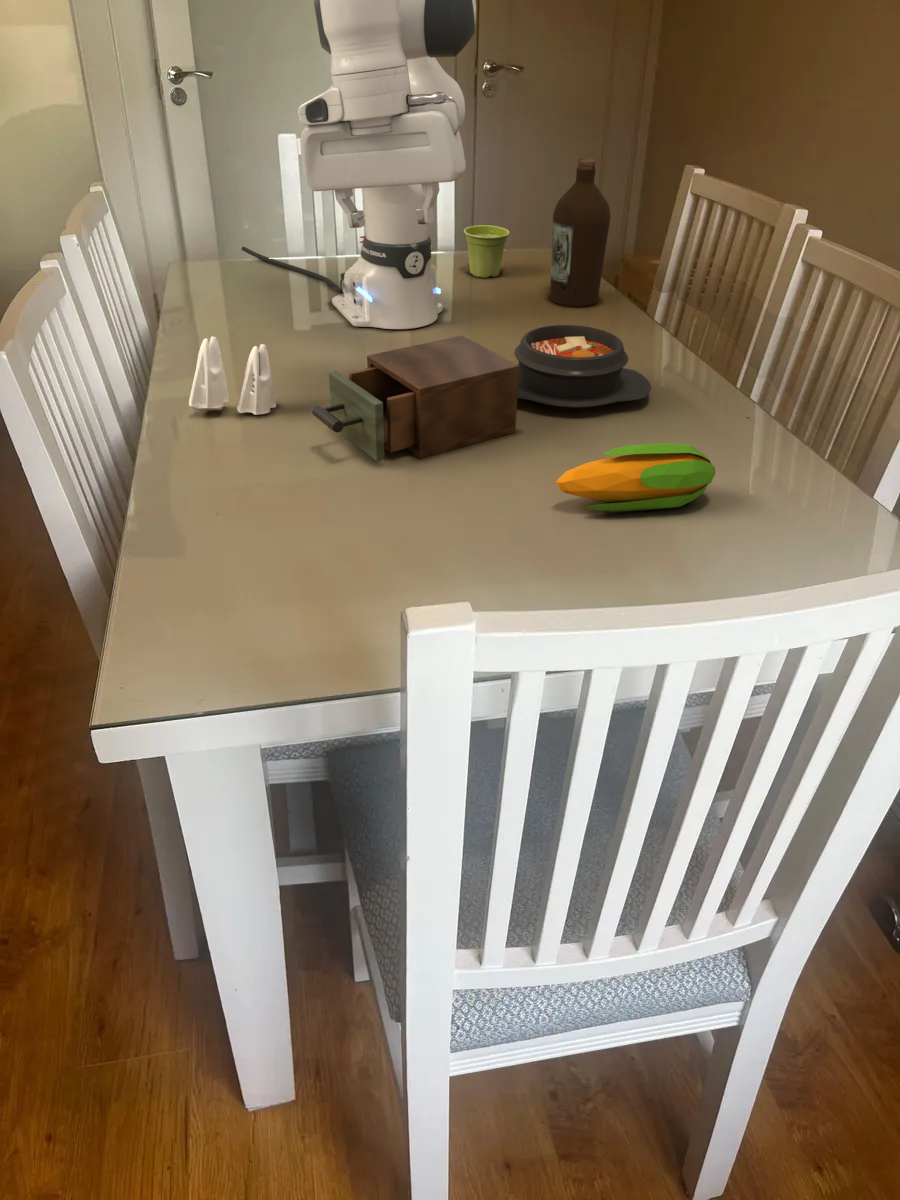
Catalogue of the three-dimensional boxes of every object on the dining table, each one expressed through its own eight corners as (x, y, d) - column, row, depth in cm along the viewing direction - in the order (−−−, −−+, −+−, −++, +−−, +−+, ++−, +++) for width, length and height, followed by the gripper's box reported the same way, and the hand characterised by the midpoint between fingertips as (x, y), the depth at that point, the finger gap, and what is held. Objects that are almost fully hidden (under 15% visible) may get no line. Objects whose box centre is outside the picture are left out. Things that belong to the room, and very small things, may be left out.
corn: (732, 453, 107) (569, 465, 103) (722, 512, 111) (564, 525, 107) (705, 430, 113) (550, 441, 110) (696, 487, 117) (546, 499, 114)
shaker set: (190, 419, 130) (178, 343, 124) (193, 407, 134) (181, 333, 127) (275, 416, 132) (267, 341, 125) (276, 404, 135) (268, 330, 129)
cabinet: (419, 458, 121) (419, 389, 116) (369, 421, 131) (366, 355, 125) (515, 432, 129) (519, 365, 123) (460, 399, 138) (462, 335, 132)
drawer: (346, 469, 116) (343, 412, 112) (303, 433, 125) (298, 378, 120) (469, 436, 125) (471, 381, 120) (421, 404, 134) (421, 352, 129)
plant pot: (512, 270, 194) (514, 227, 189) (499, 282, 187) (502, 238, 182) (470, 265, 197) (471, 223, 192) (456, 277, 189) (457, 233, 184)
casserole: (486, 417, 133) (488, 361, 128) (485, 369, 148) (487, 317, 143) (658, 421, 132) (667, 365, 127) (640, 373, 147) (647, 322, 143)
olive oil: (583, 289, 184) (596, 153, 170) (611, 304, 176) (628, 163, 162) (537, 295, 181) (546, 156, 166) (563, 311, 173) (576, 167, 158)
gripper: (466, 87, 104) (478, 215, 112) (310, 104, 112) (331, 223, 119) (446, 93, 100) (460, 226, 107) (285, 110, 107) (308, 234, 114)
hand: (391, 225), depth 113 cm, fingers open, 8 cm apart
